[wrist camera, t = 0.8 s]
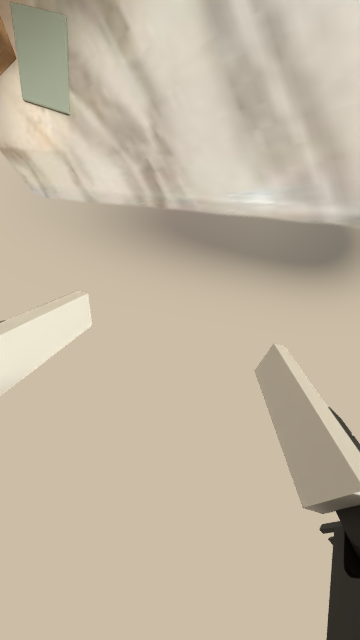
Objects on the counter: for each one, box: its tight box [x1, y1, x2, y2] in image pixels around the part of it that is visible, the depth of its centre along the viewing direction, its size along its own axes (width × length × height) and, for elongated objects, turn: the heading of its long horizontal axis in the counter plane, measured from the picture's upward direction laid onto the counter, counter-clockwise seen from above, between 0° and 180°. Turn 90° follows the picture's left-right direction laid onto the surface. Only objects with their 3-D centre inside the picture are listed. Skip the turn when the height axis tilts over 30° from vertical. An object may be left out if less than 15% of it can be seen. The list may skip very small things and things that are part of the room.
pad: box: [10, 2, 70, 115], centre depth 25 cm, size 10×10×1 cm
